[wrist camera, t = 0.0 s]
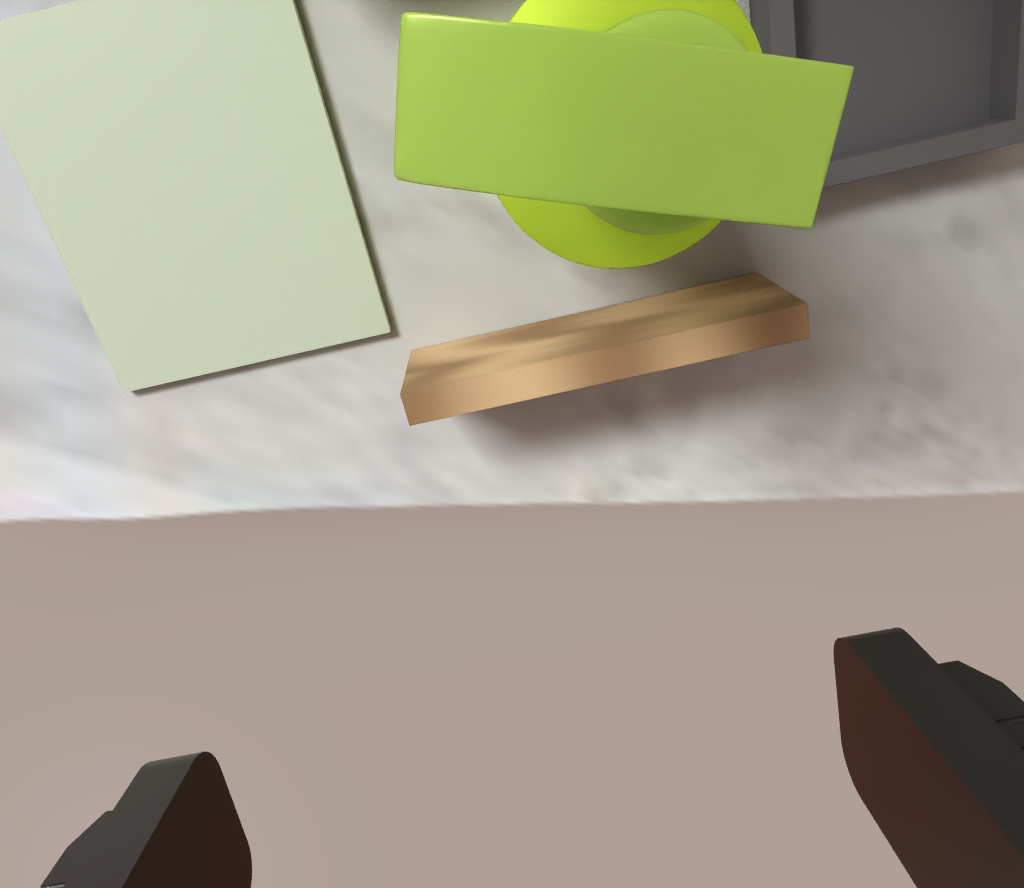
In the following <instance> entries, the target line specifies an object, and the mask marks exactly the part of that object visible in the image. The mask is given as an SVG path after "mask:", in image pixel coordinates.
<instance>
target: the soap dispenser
mask: <svg viewBox="0 0 1024 888" xmlns="http://www.w3.org/2000/svg"><path fill="white" fill-rule="evenodd" d="M853 70H854V67H853V66H849V65H842V64H835V63H828V62H821V61H813V60H806V59H799V58H792V57H785V56H778V55H770V54H763V53H762V51H761V47H760V45H759V42H758V39H757V37H756V35H755V32H754V30H753V28H752V26H751V24H750V22H749V21H748V19H747V17H746V16H745V14H744V12H743V11H742V10H741V8H740V7H739V5H738V4H737V3H736V1H735V0H526V1H525V2H524V3H523V4H522V5H521V7H520V8H519V9H518V10H517V12H516V13H515V14H514V15H513V17H512V18H511V20H510V21H509V22H507V21H498V20H488V19H478V18H469V17H459V16H450V15H440V14H430V13H418V12H405V13H404V14H402V16H401V22H400V36H399V57H398V78H397V100H396V124H395V150H394V175H395V177H396V178H397V179H399V180H402V181H407V182H412V183H418V184H425V185H432V186H439V187H446V188H453V189H461V190H468V191H475V192H483V193H490V194H497V196H498V198H499V199H500V201H501V203H502V204H503V206H504V208H505V209H506V211H507V212H508V213H509V215H510V216H511V217H512V219H513V220H514V221H515V222H516V223H517V224H518V226H519V227H520V228H521V229H522V230H523V231H524V232H525V233H526V234H527V235H529V236H530V237H531V238H532V239H533V240H535V241H536V242H537V243H538V244H540V245H541V246H543V247H544V248H546V249H547V250H549V251H551V252H552V253H554V254H556V255H558V256H560V257H563V258H565V259H567V260H570V261H573V262H576V263H579V264H582V265H587V266H592V267H598V268H608V269H622V268H633V267H639V266H644V265H648V264H652V263H656V262H659V261H662V260H664V259H667V258H669V257H671V256H674V255H676V254H678V253H680V252H682V251H683V250H685V249H687V248H689V247H690V246H692V245H693V244H695V243H696V242H698V241H699V240H700V239H702V238H703V237H704V236H706V235H707V234H708V233H709V232H710V231H711V230H713V229H714V228H715V227H716V226H717V225H718V224H719V223H720V222H721V221H722V220H726V221H736V222H746V223H756V224H766V225H777V226H787V227H797V228H812V226H813V223H814V219H815V215H816V211H817V208H818V204H819V200H820V196H821V192H822V189H823V185H824V181H825V177H826V173H827V170H828V166H829V162H830V158H831V154H832V151H833V147H834V143H835V139H836V135H837V132H838V128H839V124H840V120H841V116H842V112H843V109H844V105H845V101H846V97H847V93H848V90H849V86H850V82H851V78H852V74H853Z"/></svg>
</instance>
